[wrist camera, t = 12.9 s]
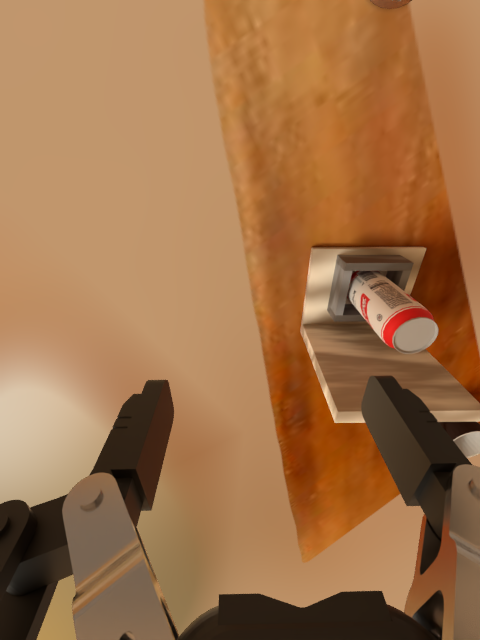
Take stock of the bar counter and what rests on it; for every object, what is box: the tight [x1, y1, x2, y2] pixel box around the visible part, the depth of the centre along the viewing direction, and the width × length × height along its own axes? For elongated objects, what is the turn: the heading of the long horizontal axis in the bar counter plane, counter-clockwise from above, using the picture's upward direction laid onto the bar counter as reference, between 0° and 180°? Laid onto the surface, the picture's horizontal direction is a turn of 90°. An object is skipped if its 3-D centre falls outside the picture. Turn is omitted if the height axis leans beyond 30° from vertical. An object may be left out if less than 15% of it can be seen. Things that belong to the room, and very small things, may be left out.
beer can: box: [347, 271, 438, 354], centre depth 39 cm, size 6×6×16 cm
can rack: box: [300, 247, 480, 423], centre depth 38 cm, size 16×18×21 cm
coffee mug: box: [438, 422, 480, 458], centre depth 57 cm, size 12×9×10 cm
